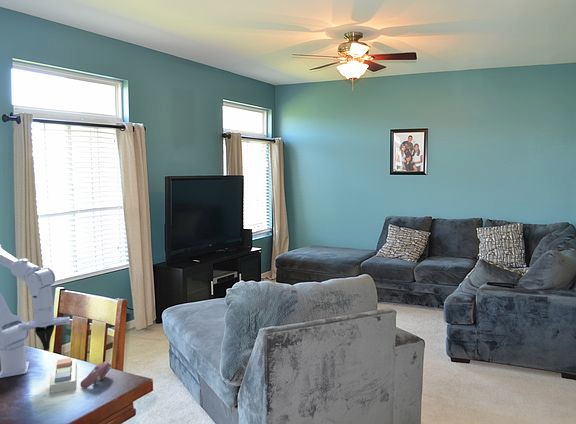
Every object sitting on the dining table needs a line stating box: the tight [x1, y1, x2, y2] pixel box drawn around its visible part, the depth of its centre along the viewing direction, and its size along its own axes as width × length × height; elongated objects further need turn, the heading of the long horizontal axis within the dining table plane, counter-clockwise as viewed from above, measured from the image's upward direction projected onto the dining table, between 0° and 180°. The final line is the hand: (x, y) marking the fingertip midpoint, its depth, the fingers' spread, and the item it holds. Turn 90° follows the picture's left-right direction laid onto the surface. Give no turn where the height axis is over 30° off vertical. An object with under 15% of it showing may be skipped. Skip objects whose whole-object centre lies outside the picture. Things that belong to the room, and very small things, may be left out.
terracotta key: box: [56, 357, 72, 368], centre depth 161 cm, size 4×4×2 cm
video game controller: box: [80, 361, 112, 389], centre depth 154 cm, size 10×5×7 cm, turn 169°
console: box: [49, 358, 78, 394], centre depth 157 cm, size 18×7×2 cm, turn 22°
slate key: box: [55, 371, 70, 383], centre depth 151 cm, size 4×4×2 cm
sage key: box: [57, 367, 71, 373], centre depth 156 cm, size 4×4×2 cm
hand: (46, 348), depth 157 cm, fingers closed
